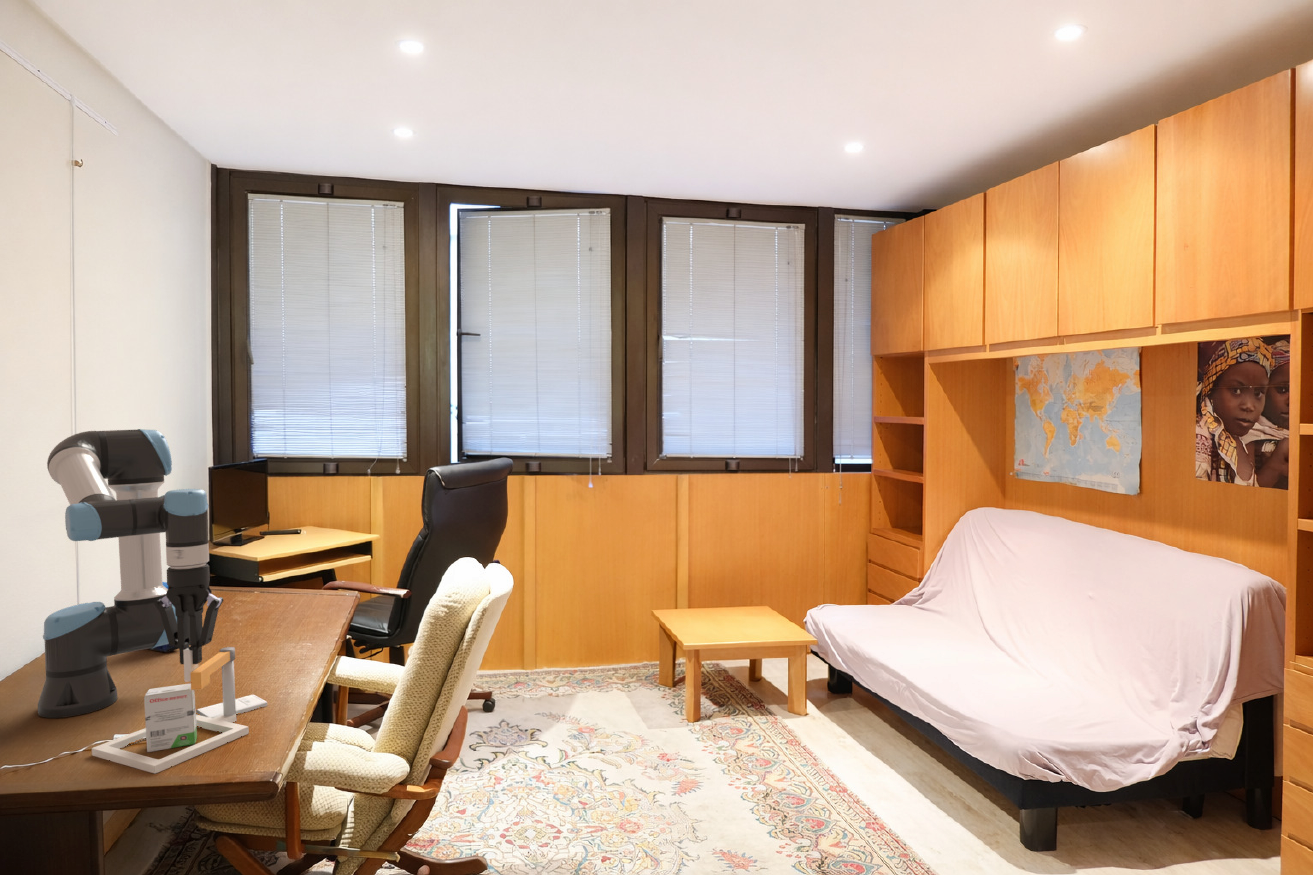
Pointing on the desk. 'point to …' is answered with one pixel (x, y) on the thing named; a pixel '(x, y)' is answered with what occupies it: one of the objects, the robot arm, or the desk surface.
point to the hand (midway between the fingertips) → (191, 679)
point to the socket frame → (216, 724)
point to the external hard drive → (241, 706)
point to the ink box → (170, 717)
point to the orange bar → (211, 668)
